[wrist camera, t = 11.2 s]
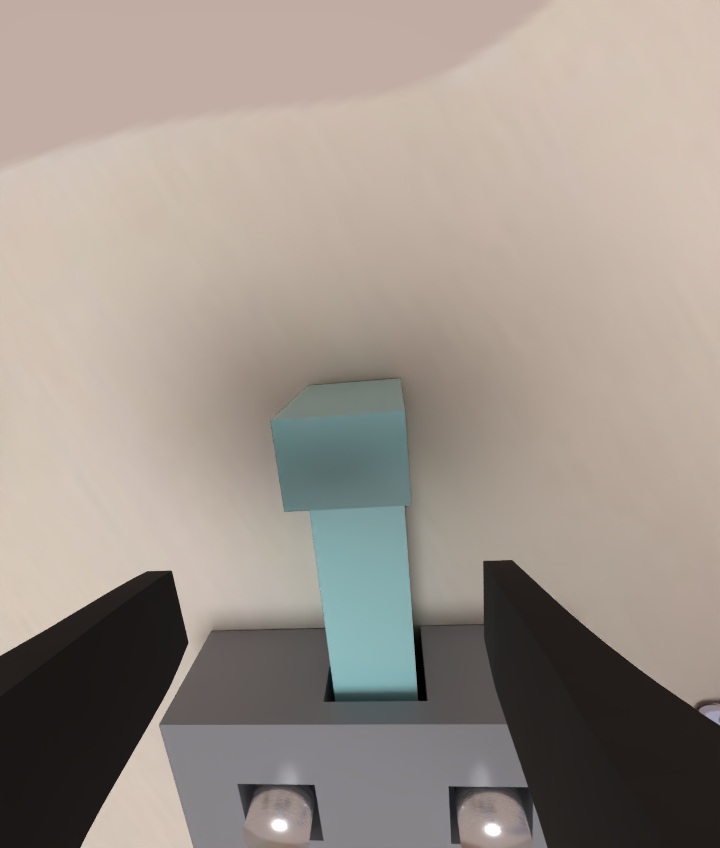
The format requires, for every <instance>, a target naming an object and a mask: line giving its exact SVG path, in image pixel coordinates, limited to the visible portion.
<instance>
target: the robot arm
mask: <svg viewBox="0 0 720 848" xmlns="http://www.w3.org/2000/svg"><path fill="white" fill-rule="evenodd" d="M483 567H484V641H485V645H486V650H487V654H488V659H489V664H490V668H491V673H492V677H493V681H494V686H495V689H496V692H497V695H498V698H499V701H500V704H501V707H502V711H503V714H504V717H505V720H506V723H507V726H508V729H509V732H510V735H511V738H512V741H513V743H514V746H515V749H516V752H517V755H518V758H519V761H520V764H521V767H522V770H523V773H524V776H525V779H526V782H527V785H528V788H529V791H530V794H531V797H532V800H533V803H534V806H535V809H536V812H537V815H538V818H539V821H540V825H541V828H542V831H543V835H544V838H545V841H546V845H547V848H720V705H706V706H703V707H701V708H700V709H699V711H698V710H696V709H695V708H693V707H692V706H690V705H689V704H687V703H686V702H685V701H683V700H682V699H680V698H679V697H677V696H676V695H674V694H673V693H671V692H670V691H669V690H667V689H666V688H664V687H663V686H661V685H660V684H658V683H657V682H656V681H654V680H653V679H652V678H650V677H649V676H647V675H646V674H645V673H643V672H642V671H641V670H639V669H638V668H637V667H635V666H634V665H633V664H631V663H630V662H629V661H628V660H626V659H625V658H624V657H622V656H621V655H620V654H619V653H617V652H616V651H615V650H614V649H612V648H611V647H610V646H608V645H607V644H606V643H605V642H603V641H602V640H601V639H600V638H598V637H597V636H596V635H595V634H594V633H592V632H591V631H590V630H589V629H588V628H586V627H585V626H584V625H583V624H582V623H581V622H579V621H578V620H577V619H576V618H575V617H574V616H572V615H571V614H570V613H569V612H568V611H567V610H566V609H564V608H563V607H562V606H561V605H560V604H559V603H558V602H557V601H556V600H554V599H553V598H552V597H551V596H550V595H549V594H548V593H547V592H546V591H545V590H544V589H543V588H541V587H540V586H539V585H538V584H537V583H536V582H535V581H534V580H533V579H532V578H531V577H530V576H529V575H528V574H526V573H525V572H524V571H523V570H522V569H521V568H520V567H519V566H518V565H517V564H516V563H515V562H513V561H512V560H502V561H483ZM187 645H188V639H187V634H186V630H185V626H184V621H183V617H182V613H181V608H180V604H179V600H178V596H177V591H176V587H175V583H174V578H173V574H172V571H147V572H145V573H143V574H141V575H139V576H137V577H135V578H133V579H131V580H130V581H128V582H126V583H124V584H122V585H121V586H119V587H117V588H115V589H114V590H112V591H110V592H109V593H107V594H105V595H104V596H102V597H100V598H99V599H97V600H95V601H94V602H92V603H90V604H88V605H87V606H85V607H83V608H82V609H80V610H78V611H77V612H75V613H73V614H72V615H70V616H68V617H67V618H65V619H63V620H62V621H60V622H58V623H57V624H55V625H53V626H52V627H50V628H48V629H47V630H45V631H43V632H42V633H40V634H38V635H36V636H34V637H33V638H31V639H29V640H27V641H26V642H24V643H22V644H20V645H19V646H17V647H15V648H13V649H12V650H10V651H8V652H6V653H5V654H3V655H1V656H0V848H80V847H81V845H82V843H83V841H84V839H85V837H86V835H87V833H88V831H89V829H90V827H91V826H92V824H93V822H94V820H95V818H96V816H97V814H98V813H99V811H100V809H101V807H102V805H103V803H104V802H105V800H106V798H107V796H108V795H109V793H110V791H111V789H112V788H113V786H114V784H115V782H116V781H117V779H118V777H119V776H120V774H121V772H122V770H123V769H124V767H125V765H126V763H127V762H128V760H129V758H130V756H131V755H132V753H133V751H134V750H135V748H136V746H137V744H138V743H139V741H140V739H141V737H142V736H143V734H144V732H145V730H146V729H147V727H148V725H149V723H150V722H151V720H152V718H153V716H154V715H155V713H156V711H157V709H158V707H159V706H160V704H161V702H162V700H163V699H164V697H165V695H166V693H167V691H168V689H169V687H170V685H171V683H172V681H173V679H174V676H175V674H176V672H177V670H178V667H179V665H180V662H181V660H182V657H183V655H184V652H185V650H186V648H187Z"/></svg>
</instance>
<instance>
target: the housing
mask: <svg viewBox="0 0 720 848" xmlns="http://www.w3.org/2000/svg"><path fill="white" fill-rule="evenodd" d="M420 627H421V642H422V658H423V674H424V690H425V701H366V702H335V695H334V688H333V681H332V673H331V666H330V659H329V651H328V644H327V636H326V629H284V630H242V631H211V633H210V634H209V636H208V638H207V640H206V642H205V643H204V645H203V647H202V649H201V651H200V652H199V654H198V656H197V658H196V660H195V661H194V663H193V665H192V667H191V668H190V670H189V672H188V674H187V676H186V677H185V679H184V681H183V683H182V685H181V686H180V688H179V690H178V692H177V694H176V695H175V697H174V699H173V701H172V703H171V704H170V706H169V708H168V710H167V711H166V713H165V715H164V717H163V719H162V720H161V722H160V724H159V727H160V730H161V734H162V737H163V741H164V744H165V748H166V752H167V755H168V759H169V762H170V766H171V769H172V773H173V776H174V780H175V783H176V787H177V791H178V794H179V798H180V801H181V805H182V808H183V812H184V815H185V819H186V822H187V826H188V830H189V833H190V837H191V840H192V844H193V847H194V848H249V847H248V845H247V844H246V842H245V840H244V838H243V829H244V825H245V822H246V818H247V814H248V811H249V807H250V804H251V800H252V797H253V793H254V790H255V786H256V784H293V785H315V790H316V799H315V806H314V812H313V819H312V825H311V832H310V839H309V845H308V848H462V847H461V842H460V834H459V827H458V819H457V812H456V804H455V797H454V789H453V786H465V787H518V789H519V792H520V796H521V800H522V804H523V807H524V811H525V815H526V819H527V822H528V826H529V830H530V833H531V837H532V841H533V845H532V848H547V845H546V841H545V838H544V835H543V831H542V828H541V825H540V821H539V818H538V815H537V812H536V809H535V806H534V803H533V800H532V797H531V794H530V791H529V788H528V785H527V782H526V779H525V776H524V773H523V770H522V767H521V764H520V761H519V758H518V755H517V752H516V749H515V746H514V743H513V741H512V738H511V735H510V732H509V729H508V726H507V723H506V720H505V717H504V714H503V711H502V707H501V704H500V701H499V698H498V695H497V692H496V689H495V686H494V681H493V677H492V673H491V668H490V664H489V659H488V654H487V650H486V645H485V641H484V625H452V626H420Z"/></svg>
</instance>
